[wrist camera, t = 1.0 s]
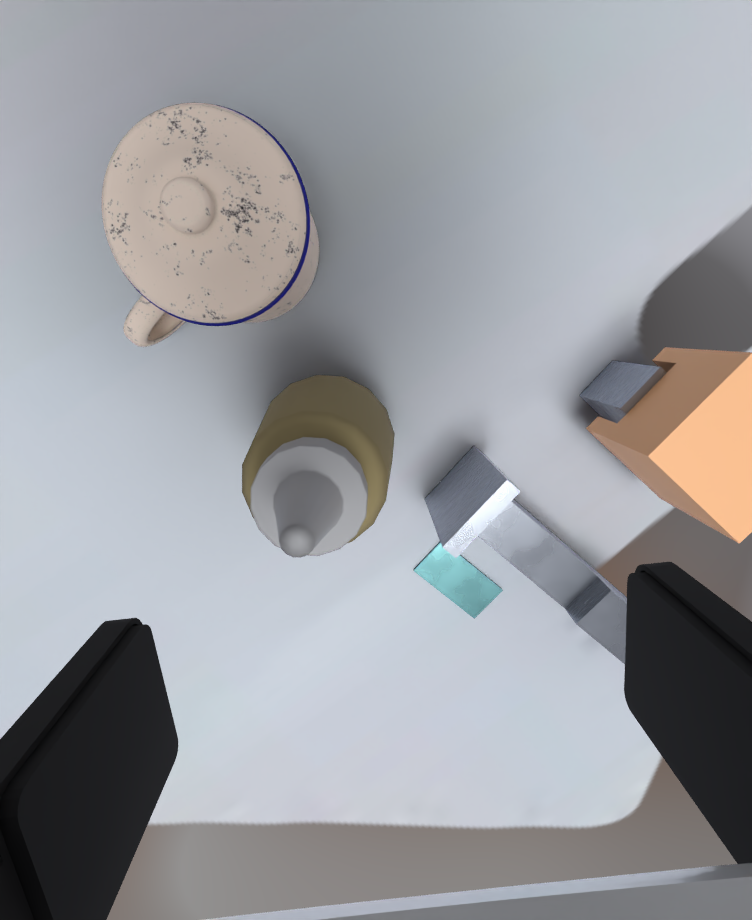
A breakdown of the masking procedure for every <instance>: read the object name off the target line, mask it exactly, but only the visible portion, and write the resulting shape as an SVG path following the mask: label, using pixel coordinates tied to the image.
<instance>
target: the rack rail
mask: <svg viewBox="0 0 752 920" xmlns="http://www.w3.org/2000/svg"><path fill="white" fill-rule="evenodd" d="M520 492H521V491H520V490H519V489H518V488H517V487H516V486H515V485H514V484H513V483H512V482H511V481H510V480H509V479H508V478H507V477H506V476H505V475H504V474H503V473H502V472H501V471H500V470H499V469H498V468H497V467H496V466H495V465H494V464H493V463H492V462H491V461H490V460H489V459H488V457H487V456H486V455H485V454H483V453H482V452H481V451H480V450H479V449H478V448H477V447H475V446H473V447H472V448H471V449H470V450H469V452H468V453H467V454H466V455H465V456H464V457H463V458H462V459H461V460H460V461H459V462H458V463H457V465H456V466H455V467H454V468H453V469H452V470H451V471H450V472H449V473H448V474H447V475H446V476H445V477H444V479H443V480H442V481H441V482H440V483H439V484H438V485H437V486H436V487H435V488H434V489H433V490H432V492H431V493H430V494H429V495H428V496H427V497H426V498H425V501H426V504H427V507H428V509H429V512H430V515H431V517H432V520H433V523H434V526H435V528H436V531H437V534H438V537H439V539H440V543H439V544H438V545H437V546H436V547H435V548H434V549H433V550H432V551H431V552H430V553H429V554H428V555H427V556H426V557H425V558H424V559H423V560H422V561H421V562H420V564H419V565H418V566H417V567H416V568H415V569H414V571H415V572H416V573H417V574H418V575H420V576H421V577H422V578H423V579H425V580H426V581H427V582H429V583H430V584H431V585H432V586H434V587H435V588H436V589H437V590H439V591H440V592H441V593H443V594H444V595H445V596H446V597H448V598H449V599H450V600H451V601H453V602H454V603H455V604H456V605H458V606H459V607H460V608H462V609H463V610H464V611H465V612H467V613H468V614H469V615H470V616H472V617H473V618H475V617H476V616H477V615H478V614H479V613H480V612H481V611H482V610H483V609H484V608H485V607H486V606H487V605H489V604H490V603H491V602H492V601H493V600H494V599H495V598H496V597H497V596H498V595H499V594H500V593H501V592H502V591H503V590H502V589H501V588H500V587H499V586H498V585H496V584H495V583H494V582H493V581H491V580H490V579H489V578H488V577H486V576H485V575H484V574H483V573H482V572H480V571H479V570H478V569H477V568H475V567H474V566H473V565H472V564H471V563H469V562H468V561H467V560H466V559H464V558H463V557H462V556H461V555H460V554H461V553H462V552H463V551H464V550H465V549H466V548H467V546H468V545H469V544H470V543H471V542H472V541H473V540H474V539H475V538H476V537H477V536H478V537H480V538H481V539H482V540H483V541H484V542H486V543H487V544H488V545H489V546H490V547H492V548H493V549H494V550H495V551H496V552H498V553H499V554H500V555H501V556H502V557H504V558H505V559H506V560H507V561H508V562H510V563H511V564H512V565H513V566H514V567H516V568H517V569H518V570H519V571H521V572H522V573H523V574H524V575H525V576H527V577H528V578H529V579H530V580H531V581H533V582H534V583H535V584H536V585H537V586H539V587H540V588H541V589H542V590H543V591H545V592H546V593H547V594H548V595H549V596H551V597H552V598H553V599H554V600H555V601H557V602H558V603H559V604H560V605H561V606H563V607H564V608H565V609H566V611H567V612H568V613H569V615H570V616H571V617H572V619H573V620H574V622H575V623H576V624H577V625H578V626H579V627H580V628H582V629H583V630H584V631H585V632H587V633H588V634H589V635H590V636H591V637H593V638H594V639H595V640H596V641H597V642H599V643H600V644H601V645H602V646H603V647H605V648H606V649H607V650H608V651H609V652H611V653H612V654H613V655H614V656H616V657H617V658H618V659H619V660H620V661H622V662H623V663H624V664H625V648H626V613H627V597H626V596H625V595H624V594H623V593H621V592H620V591H619V590H618V589H617V588H615V587H614V586H613V585H612V584H611V583H610V582H609V581H607V580H606V579H605V578H604V577H603V576H602V575H601V574H599V573H598V572H597V571H596V570H595V569H594V568H592V567H591V566H590V565H589V564H588V563H587V562H586V561H584V560H583V559H582V558H581V557H580V556H579V555H577V554H576V553H575V552H574V551H573V550H572V549H571V548H569V547H568V546H567V545H566V544H565V543H564V542H562V541H561V540H560V539H559V538H558V537H557V536H556V535H554V534H553V533H552V532H551V531H550V530H549V529H547V528H546V527H545V526H544V525H543V524H542V523H540V522H539V521H538V520H537V519H536V518H535V517H534V516H532V515H531V514H530V513H529V512H528V511H527V510H525V509H524V508H523V507H522V506H521V505H520V504H519V503H517V502H516V501H515V500H514V498H515V497H516V496H517V495H518V494H519V493H520Z"/></svg>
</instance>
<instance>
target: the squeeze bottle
mask: <svg viewBox="0 0 752 920" xmlns="http://www.w3.org/2000/svg"><path fill="white" fill-rule="evenodd" d="M393 445H394V431H393V428H392V425H391V422H390V419H389V416H388V413H387V410H386V408H385V407H384V406H383V405H382V404H381V403H380V402H379V400H378V399H377V398H376V397H375V396H374V395H373V393H372V392H371V391H370V390H369V389H368V388H366V387H364V386H362V385H360V384H358V383H356V382H354V381H352V380H350V379H348V378H346V377H341V376H326V375H315V376H312V377H309V378H306V379H303V380H300V381H297V382H294V383H291V384H290V385H289V386H288V387H287V388H286V389H284V390H283V391H282V392H281V393H280V394H279V395H278V396H277V397H276V398H275V399H273V400H272V401H271V403H270V405H269V407H268V409H267V412H266V414H265V416H264V418H263V420H262V422H261V425H260V427H259V429H258V431H257V433H256V435H255V438H254V440H253V442H252V444H251V446H250V449H249V451H248V453H247V455H246V458H245V460H244V462H243V464H242V493H243V495H244V497H245V500H246V502H247V505H248V507H249V509H250V512H251V514H252V516H253V518H254V519H255V521H256V524H257V526H258V528H259V530H260V531H261V532H262V533H263V534H264V535H265V536H266V537H267V538H268V539H269V540H270V541H271V542H272V543H273V544H274V545H275V546H277V547H279V548H281V549H282V550H283V551H284V552H285V553H286V554H287V555H290V556H292V557H303V556H306V555H310V556H320V555H323V554H326V553H329V552H332V551H335V550H338V549H340V548H341V547H343V546H344V545H345V544H346V543H349V542H352V541H353V540H355V539H356V538H357V537H358V536H359V535H361V534H362V533H363V532H364V531H365V530H367V529H368V528H369V527H370V526H372V525H373V524H374V522H375V520H376V518H377V516H378V514H379V512H380V510H381V508H382V506H383V505H384V503H385V501H386V496H387V489H388V483H389V477H390V471H391V465H392V458H393Z"/></svg>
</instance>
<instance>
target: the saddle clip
mask: <svg viewBox="0 0 752 920" xmlns="http://www.w3.org/2000/svg"><path fill="white" fill-rule="evenodd" d="M652 361H653V362H654V363H655V364H656V365H657V366H658V367H662V368H663V369H664V370H665V372H666V374H665V375H664V376H663V377H662V378H661V379H660V380H659V381H658V382H657V383H656V384H655V385H654V386H653V388H652V389H651V390H650V391H649V392H648V393H647V394H646V395H645V396H644V397H643V398H642V399H641V400H640V401H639V402H638V403H637V404H636V405H635V406H634V407H633V408H632V409H631V410H630V411H629V412H628V413H627V414H626V415H625V416H624V417H623V418H622V419H621V420H620V421H619V422H618V423H615V422H612V421H609V420H607V419H604V418H601V417H599V416H598V417H597V418H596V419H595V420H594V421H593V422H592V423H591V424H590V425H589V426H588V427H587V428H586V429H587V430H588V431H589V432H590V433H591V434H592V435H593V436H594V437H595V438H597V439H598V440H599V441H600V442H601V443H602V444H603V445H604V446H605V447H606V448H607V449H608V450H609V451H610V452H611V453H613V454H614V455H615V456H616V457H617V458H618V459H619V460H620V461H621V462H622V463H623V464H624V465H625V466H626V467H627V468H629V469H630V470H631V471H632V472H633V473H634V474H635V475H636V476H637V477H638V478H639V479H640V480H641V481H642V482H643V483H645V484H646V485H647V486H648V487H649V488H650V489H651V490H652V491H653V492H654V493H655V494H656V495H657V496H658V497H659V498H661V499H662V500H664V501H666V502H667V503H669V504H671V505H673V506H674V507H676V508H678V509H680V510H681V511H683V512H685V513H687V514H688V515H690V516H692V517H694V518H696V519H697V520H699V521H701V522H703V523H704V524H706V525H708V526H710V527H711V528H713V529H715V530H717V531H718V532H720V533H722V534H724V535H725V536H727V537H729V538H731V539H732V540H734V541H736V542H738V543H740V542H741V541H742V540H743V539H745V538H746V537H747V536H748V535H749V534H750V533H751V532H752V353H750V352H733V351H717V350H700V349H684V348H668V347H665V348H664V349H663V350H662V351H661V352H660V353H659V354H658V355H657V356H656V357H655V358H654V359H653V360H652Z"/></svg>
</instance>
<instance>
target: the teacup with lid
mask: <svg viewBox="0 0 752 920" xmlns="http://www.w3.org/2000/svg"><path fill="white" fill-rule="evenodd" d="M102 217H103V224H104V229H105V233H106V237H107V240H108V243H109V246H110V248H111V251H112V253H113V255H114V257H115V259H116V261H117V263H118V265H119V266H120V268H121V270H122V271H123V273H124V274H125V276H126V277H127V279H128V280H129V281H130V283H131V284H132V285H133V286H134V287H135V288H136V290H137V291H138V292H139V293H140V294H141V295H142V296H141V297H140V299H139V300H138V301H137V302H136V304H135V305H134V306H133V308H132V309H131V310H130V312H129V314H128V316H127V318H126V320H125V323H124V333H125V335H126V337H127V338H128V339H129V340H131V341H132V342H133V343H134V344H135V345H137V346H140V347H147V346H151V345H154V344H156V343H158V342H160V341H162V340H164V339H165V338H167V337H168V336H170V335H171V334H172V333H174V332H175V331H176V330H177V329H178V328H180V327H181V326H182V325H183V324H184V323H185V322H186V321H187V322H190V323H194V324H199V325H206V326H226V325H233V324H238V323H241V322H250V323H254V322H263V321H268V320H272V319H274V318H277V317H279V316H281V315H283V314H285V313H287V312H288V311H290V310H291V309H292V308H294V307H295V306H296V305H297V304H298V303H299V302H300V301H301V300H302V299H303V297H304V296H305V295H306V293H307V292H308V290H309V288H310V287H311V285H312V283H313V280H314V278H315V275H316V271H317V267H318V262H319V239H318V233H317V229H316V226H315V223H314V220H313V217H312V215H311V213H310V211H309V205H308V199H307V195H306V192H305V188H304V185H303V182H302V180H301V177H300V175H299V173H298V170H297V168H296V166H295V165H294V163H293V161H292V159H291V158H290V156H289V155H288V153H287V152H286V151H285V149H284V148H283V146H282V145H281V144H280V143H279V142H278V141H277V140H276V138H275V137H273V136H272V135H271V134H270V133H269V132H268V131H267V130H266V129H265V128H263V127H262V126H261V125H260V124H258V123H257V122H255V121H254V120H252V119H251V118H249V117H247V116H245V115H243V114H241V113H239V112H237V111H234V110H232V109H229V108H226V107H222V106H219V105H213V104H206V103H182V104H177V105H172V106H169V107H165V108H162V109H160V110H158V111H155V112H153V113H152V114H150V115H148V116H146V117H145V118H143V119H142V120H141V121H139V122H138V123H137V124H136V125H135V126H133V127H132V128H131V129H130V130H129V131H128V132H127V134H126V135H125V136H124V137H123V138H122V140H121V141H120V143H119V144H118V146H117V147H116V149H115V151H114V153H113V155H112V157H111V159H110V162H109V164H108V167H107V170H106V173H105V177H104V182H103V188H102Z"/></svg>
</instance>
